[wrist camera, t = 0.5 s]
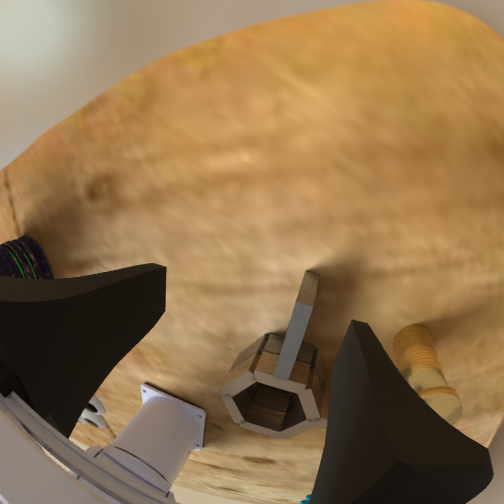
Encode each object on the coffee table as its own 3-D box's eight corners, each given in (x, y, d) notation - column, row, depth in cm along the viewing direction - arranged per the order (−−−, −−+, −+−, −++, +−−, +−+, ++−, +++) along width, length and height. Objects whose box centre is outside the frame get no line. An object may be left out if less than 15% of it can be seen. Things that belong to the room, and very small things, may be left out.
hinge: (367, 419, 23) (366, 456, 19) (232, 383, 25) (214, 417, 21) (433, 305, 18) (450, 341, 14) (257, 257, 21) (236, 284, 16)
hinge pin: (421, 365, 20) (437, 442, 12) (378, 356, 20) (384, 437, 13) (443, 325, 18) (474, 399, 11) (399, 313, 19) (418, 392, 12)
